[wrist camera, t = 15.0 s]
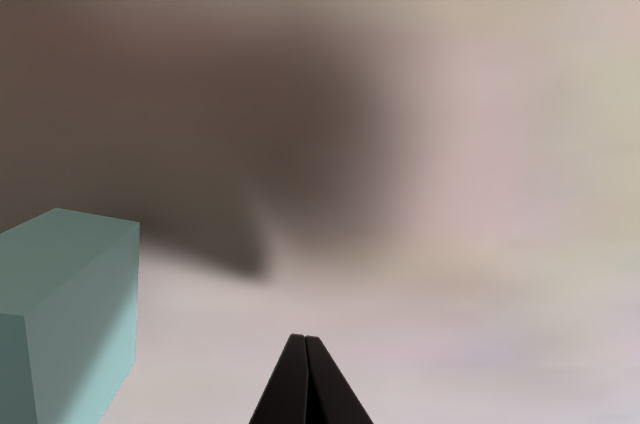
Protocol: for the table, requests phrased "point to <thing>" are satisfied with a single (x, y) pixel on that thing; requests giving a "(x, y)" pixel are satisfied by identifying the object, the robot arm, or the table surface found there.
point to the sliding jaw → (66, 316)
